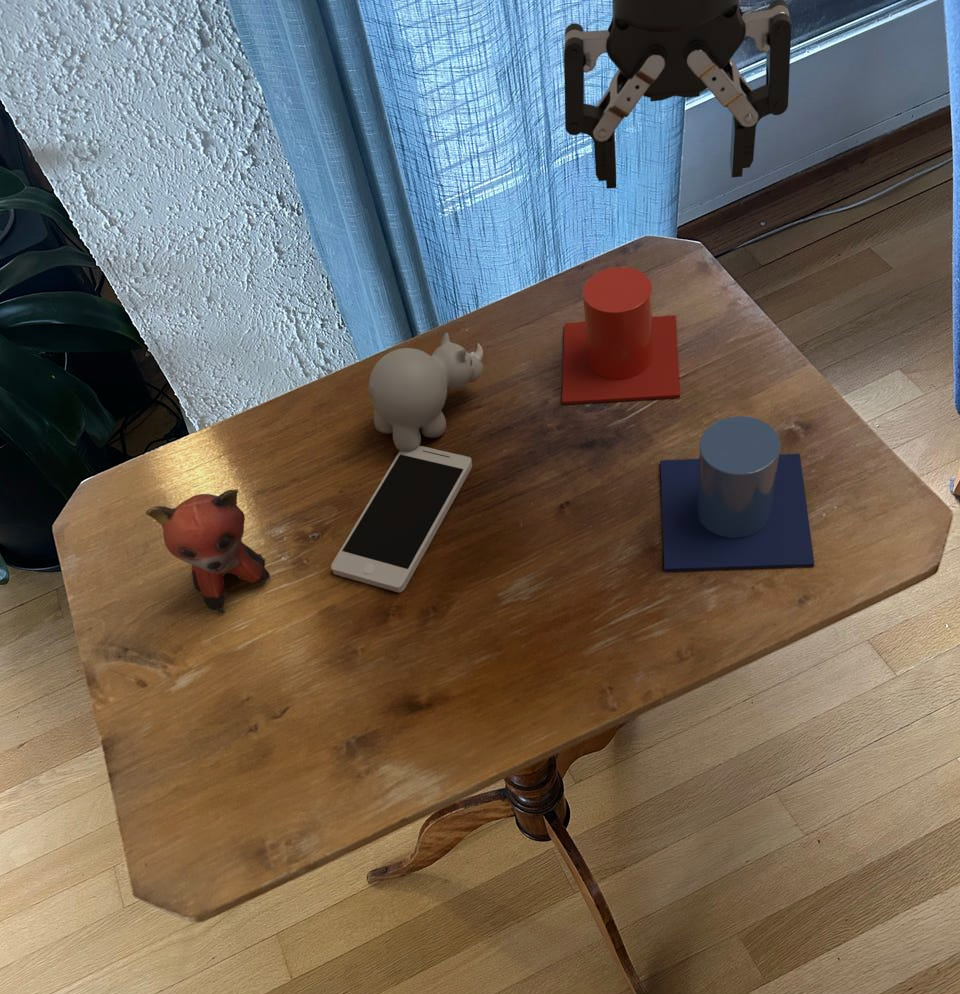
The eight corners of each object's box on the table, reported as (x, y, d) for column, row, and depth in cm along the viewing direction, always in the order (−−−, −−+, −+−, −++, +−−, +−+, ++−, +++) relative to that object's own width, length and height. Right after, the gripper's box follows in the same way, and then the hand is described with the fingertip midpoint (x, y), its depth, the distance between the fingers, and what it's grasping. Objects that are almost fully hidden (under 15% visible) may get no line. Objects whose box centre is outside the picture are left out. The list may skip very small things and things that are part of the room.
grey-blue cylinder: (768, 480, 88) (777, 413, 82) (774, 537, 85) (784, 472, 78) (695, 483, 89) (697, 417, 83) (698, 539, 86) (701, 476, 79)
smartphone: (331, 573, 90) (328, 567, 90) (406, 448, 97) (404, 441, 96) (402, 594, 88) (400, 587, 87) (474, 464, 95) (473, 457, 94)
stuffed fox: (263, 510, 96) (217, 418, 86) (289, 599, 90) (243, 511, 80) (186, 537, 95) (131, 448, 85) (207, 629, 89) (150, 545, 79)
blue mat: (799, 456, 90) (799, 453, 89) (813, 566, 83) (814, 563, 83) (660, 463, 92) (660, 460, 91) (664, 571, 85) (664, 568, 85)
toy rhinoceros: (508, 410, 99) (501, 339, 92) (401, 466, 96) (386, 396, 89) (468, 372, 102) (459, 300, 95) (364, 424, 99) (347, 353, 92)
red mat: (675, 318, 101) (675, 314, 101) (679, 397, 96) (679, 394, 95) (564, 326, 103) (564, 323, 103) (562, 404, 97) (561, 401, 97)
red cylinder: (651, 332, 100) (651, 264, 94) (653, 377, 97) (652, 309, 90) (588, 337, 101) (583, 269, 95) (587, 381, 98) (582, 314, 91)
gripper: (548, -36, 57) (570, 219, 71) (813, -71, 55) (783, 200, 68) (552, -98, 61) (572, 154, 75) (799, -133, 59) (774, 134, 72)
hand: (673, 176), depth 71 cm, fingers open, 8 cm apart
